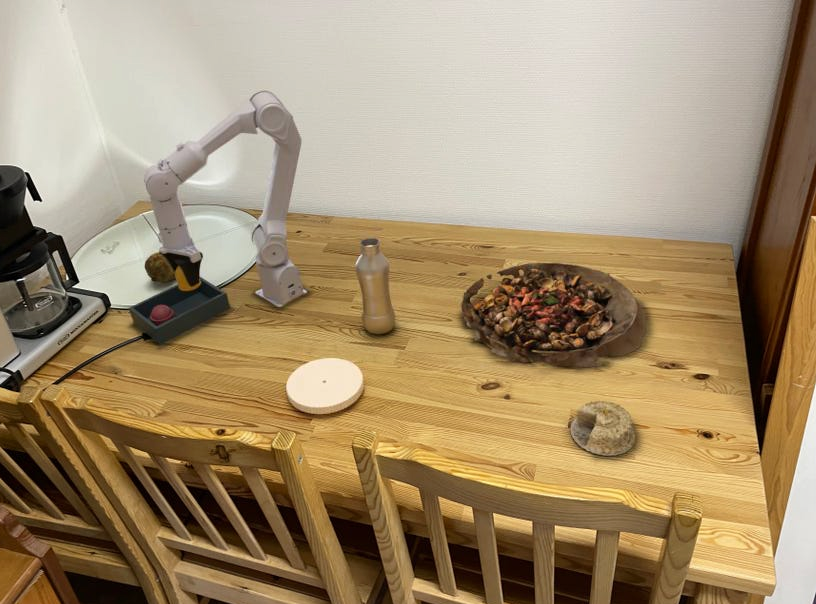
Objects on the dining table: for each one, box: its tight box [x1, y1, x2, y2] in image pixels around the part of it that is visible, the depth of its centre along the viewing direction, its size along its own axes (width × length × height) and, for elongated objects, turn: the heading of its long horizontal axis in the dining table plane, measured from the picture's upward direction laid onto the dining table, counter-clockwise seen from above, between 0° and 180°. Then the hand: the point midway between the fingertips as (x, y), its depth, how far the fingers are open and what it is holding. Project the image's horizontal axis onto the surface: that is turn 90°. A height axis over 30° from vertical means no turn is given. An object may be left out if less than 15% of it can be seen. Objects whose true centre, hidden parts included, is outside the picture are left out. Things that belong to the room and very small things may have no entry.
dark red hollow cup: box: [150, 305, 175, 326], centre depth 155 cm, size 5×5×5 cm
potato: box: [144, 251, 176, 283], centre depth 173 cm, size 8×13×8 cm, turn 154°
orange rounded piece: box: [174, 266, 201, 291], centre depth 154 cm, size 5×5×6 cm
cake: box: [569, 400, 636, 457], centre depth 114 cm, size 10×10×5 cm
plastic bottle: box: [354, 237, 397, 335], centre depth 142 cm, size 6×7×20 cm
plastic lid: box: [285, 357, 365, 415], centre depth 132 cm, size 14×14×2 cm
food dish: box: [460, 262, 648, 369], centre depth 141 cm, size 35×33×8 cm
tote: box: [128, 276, 231, 346], centre depth 158 cm, size 12×17×5 cm
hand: (188, 280), depth 155 cm, fingers closed on orange rounded piece, 5 cm apart
